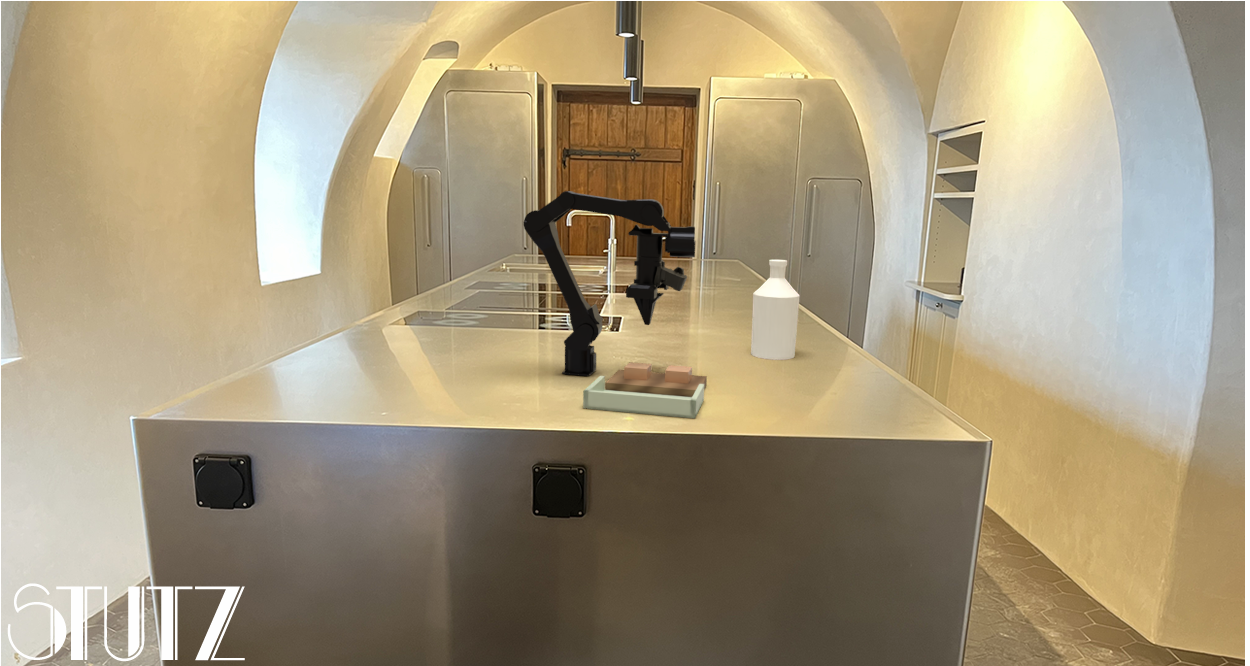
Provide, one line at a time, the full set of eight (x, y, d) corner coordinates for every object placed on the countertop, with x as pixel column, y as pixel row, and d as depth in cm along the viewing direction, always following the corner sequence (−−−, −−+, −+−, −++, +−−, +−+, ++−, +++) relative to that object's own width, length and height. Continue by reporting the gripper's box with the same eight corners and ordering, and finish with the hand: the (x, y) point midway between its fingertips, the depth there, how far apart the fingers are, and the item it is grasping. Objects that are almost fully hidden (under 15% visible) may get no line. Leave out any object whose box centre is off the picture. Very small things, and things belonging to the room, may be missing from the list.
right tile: (664, 381, 154) (665, 370, 154) (669, 376, 159) (669, 365, 159) (688, 383, 153) (688, 372, 153) (691, 378, 158) (692, 366, 157)
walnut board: (605, 391, 153) (605, 382, 153) (618, 378, 165) (619, 369, 164) (699, 399, 149) (699, 390, 148) (706, 385, 160) (706, 376, 160)
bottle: (800, 360, 186) (806, 263, 181) (753, 359, 186) (759, 262, 181) (790, 350, 197) (796, 258, 192) (746, 349, 197) (751, 257, 193)
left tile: (624, 378, 156) (624, 367, 156) (629, 373, 161) (629, 362, 161) (646, 380, 155) (646, 369, 155) (651, 374, 160) (651, 363, 160)
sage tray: (583, 408, 141) (583, 390, 141) (600, 391, 153) (600, 375, 152) (695, 418, 136) (695, 400, 136) (703, 400, 148) (704, 384, 147)
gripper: (678, 261, 151) (675, 334, 154) (691, 254, 169) (688, 320, 172) (626, 259, 154) (624, 331, 157) (644, 252, 171) (642, 317, 174)
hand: (647, 324), depth 165 cm, fingers closed
